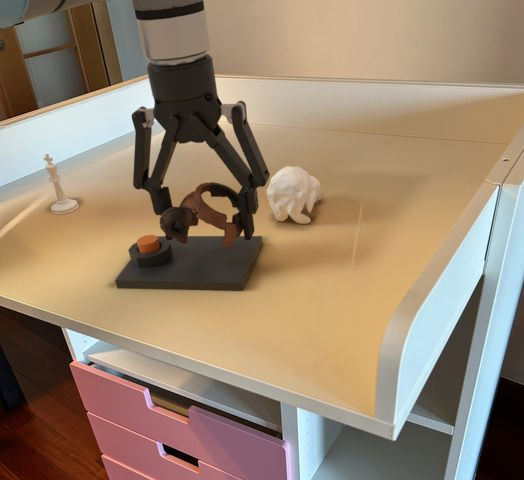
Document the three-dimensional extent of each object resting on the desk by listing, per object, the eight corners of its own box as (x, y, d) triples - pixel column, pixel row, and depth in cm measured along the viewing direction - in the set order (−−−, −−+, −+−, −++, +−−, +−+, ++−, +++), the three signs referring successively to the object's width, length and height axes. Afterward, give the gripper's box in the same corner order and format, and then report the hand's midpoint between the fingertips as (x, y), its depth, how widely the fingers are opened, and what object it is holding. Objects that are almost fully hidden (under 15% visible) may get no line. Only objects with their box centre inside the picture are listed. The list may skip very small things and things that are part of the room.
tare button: (136, 254, 80) (133, 244, 79) (143, 244, 82) (141, 234, 81) (155, 254, 79) (153, 244, 78) (163, 244, 81) (160, 234, 80)
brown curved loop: (207, 218, 84) (227, 173, 78) (243, 263, 81) (266, 219, 75) (138, 228, 76) (154, 179, 70) (174, 278, 73) (194, 230, 67)
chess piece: (65, 216, 100) (46, 160, 94) (45, 212, 102) (25, 158, 96) (84, 204, 103) (67, 150, 97) (65, 201, 105) (47, 148, 99)
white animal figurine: (261, 171, 83) (294, 151, 91) (265, 226, 87) (296, 202, 96) (301, 174, 80) (331, 153, 89) (302, 231, 85) (331, 205, 94)
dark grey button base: (117, 288, 78) (111, 270, 76) (150, 244, 88) (146, 226, 86) (242, 291, 74) (239, 271, 72) (263, 244, 84) (260, 225, 82)
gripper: (284, 42, 64) (297, 222, 77) (100, 57, 69) (142, 223, 82) (271, 57, 58) (288, 248, 71) (71, 72, 63) (122, 248, 77)
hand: (210, 235), depth 77 cm, fingers closed on brown curved loop, 10 cm apart
